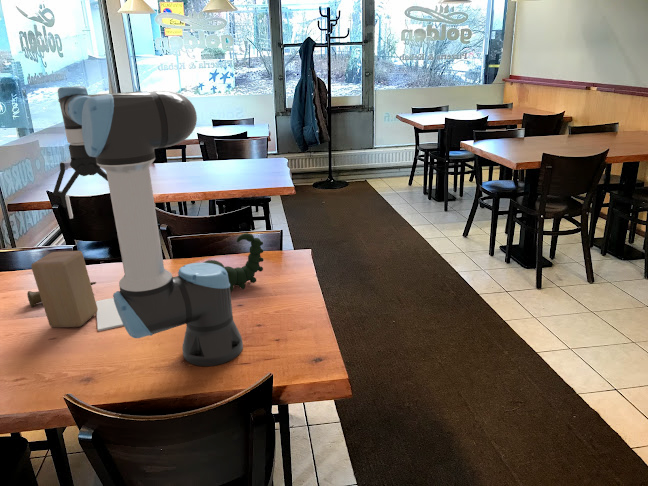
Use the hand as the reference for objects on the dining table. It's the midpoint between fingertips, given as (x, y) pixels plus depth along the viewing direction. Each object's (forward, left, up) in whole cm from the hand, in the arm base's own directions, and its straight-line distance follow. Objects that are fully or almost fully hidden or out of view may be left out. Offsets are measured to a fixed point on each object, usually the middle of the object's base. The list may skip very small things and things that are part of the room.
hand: (96, 214), depth 154 cm
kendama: (+9, +14, -29) cm, 33 cm away
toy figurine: (-10, -35, -28) cm, 46 cm away
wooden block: (-10, +11, -28) cm, 32 cm away
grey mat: (-10, -4, -28) cm, 30 cm away
